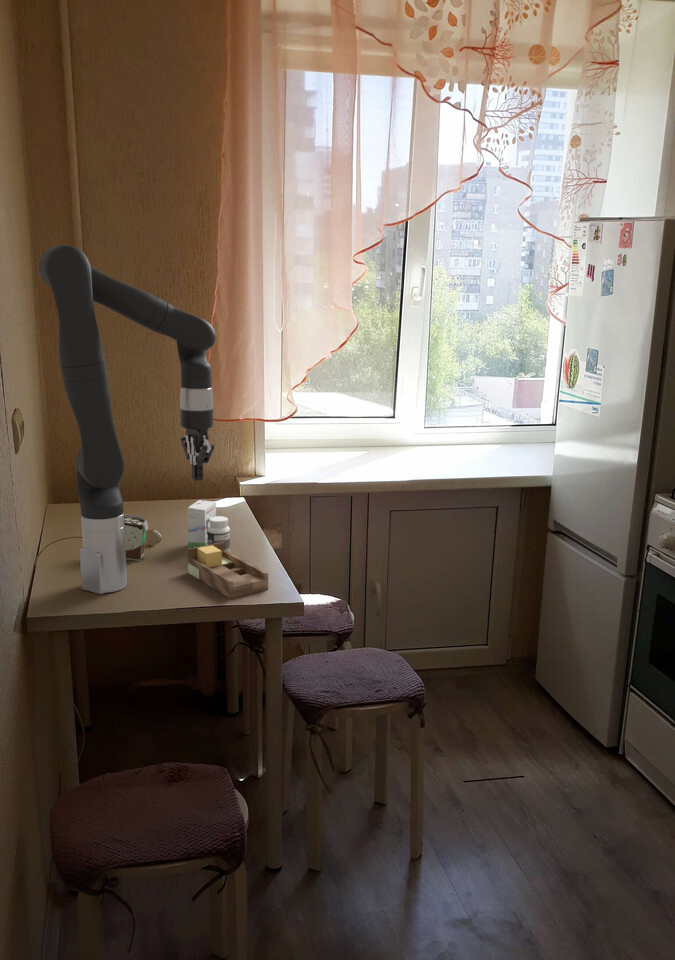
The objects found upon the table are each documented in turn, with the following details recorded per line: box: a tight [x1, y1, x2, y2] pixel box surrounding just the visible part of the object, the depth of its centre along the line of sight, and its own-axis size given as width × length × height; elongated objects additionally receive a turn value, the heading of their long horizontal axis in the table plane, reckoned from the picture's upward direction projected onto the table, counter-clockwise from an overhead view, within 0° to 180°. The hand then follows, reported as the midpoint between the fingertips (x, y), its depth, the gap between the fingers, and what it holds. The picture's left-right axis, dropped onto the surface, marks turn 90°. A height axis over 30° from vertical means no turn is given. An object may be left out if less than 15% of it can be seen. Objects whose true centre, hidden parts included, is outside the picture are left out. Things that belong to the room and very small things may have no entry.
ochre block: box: [197, 545, 222, 567], centre depth 198 cm, size 5×4×4 cm
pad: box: [187, 556, 232, 580], centre depth 200 cm, size 6×9×2 cm, turn 127°
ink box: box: [187, 499, 217, 550], centre depth 217 cm, size 9×5×12 cm, turn 168°
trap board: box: [187, 542, 269, 599], centre depth 194 cm, size 20×10×6 cm, turn 37°
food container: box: [124, 514, 149, 562], centre depth 210 cm, size 12×6×10 cm, turn 74°
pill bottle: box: [207, 515, 231, 553], centre depth 211 cm, size 6×6×10 cm
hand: (197, 479), depth 195 cm, fingers closed
